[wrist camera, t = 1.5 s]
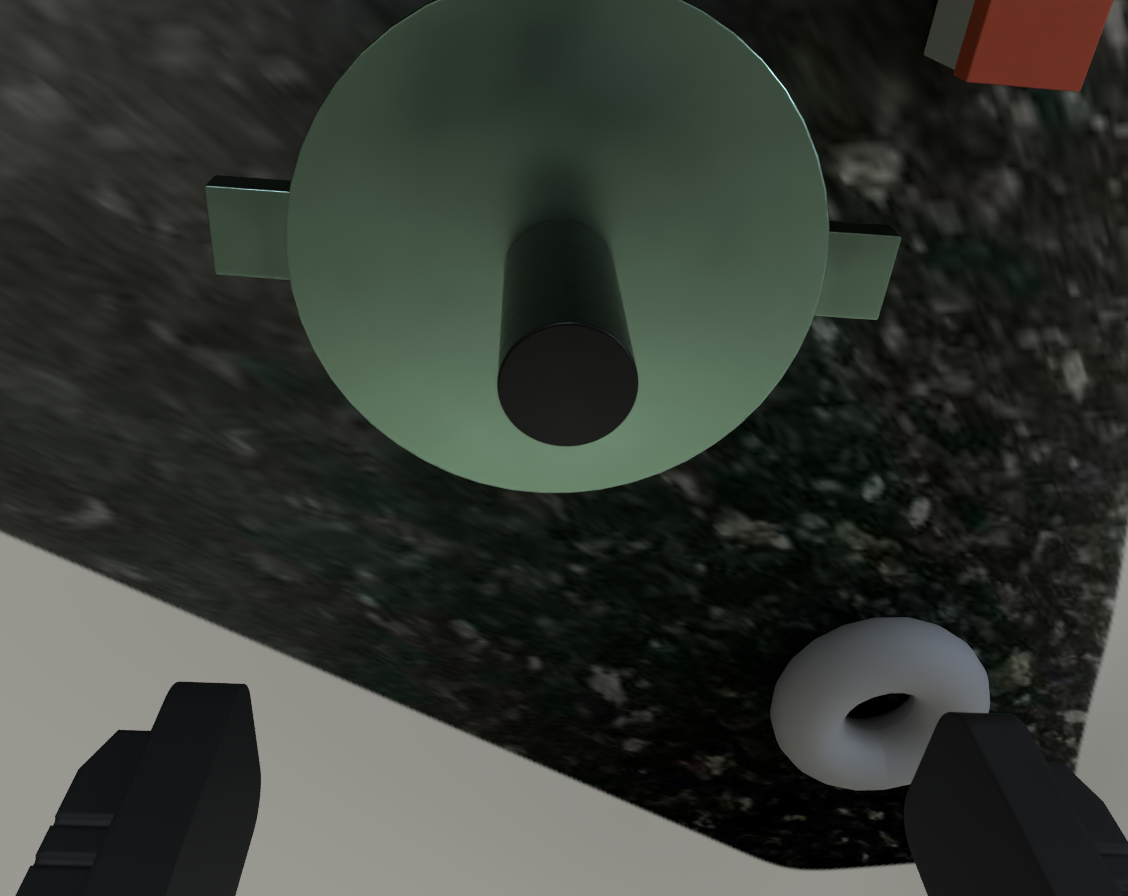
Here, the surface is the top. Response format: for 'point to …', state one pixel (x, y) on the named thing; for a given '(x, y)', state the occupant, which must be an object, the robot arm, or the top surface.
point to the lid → (557, 237)
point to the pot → (258, 249)
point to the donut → (860, 672)
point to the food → (1018, 40)
